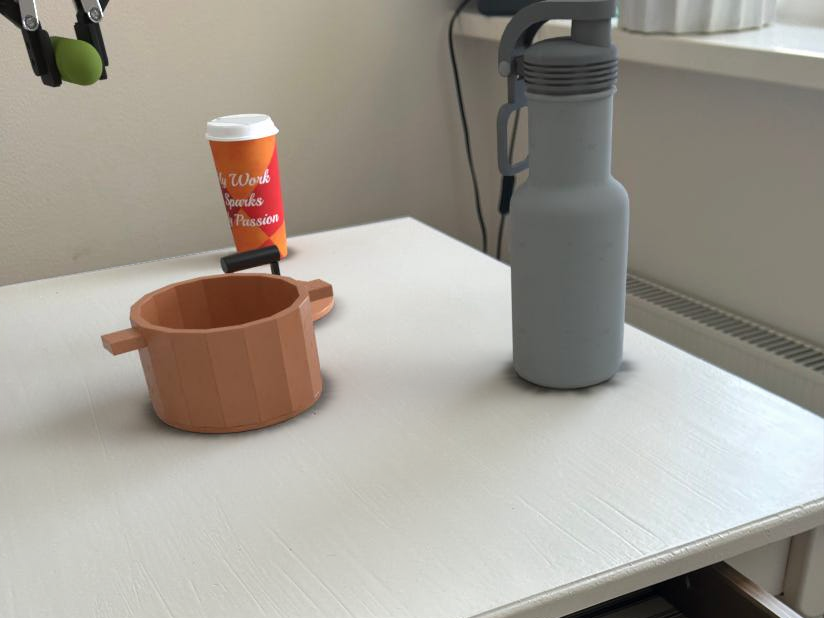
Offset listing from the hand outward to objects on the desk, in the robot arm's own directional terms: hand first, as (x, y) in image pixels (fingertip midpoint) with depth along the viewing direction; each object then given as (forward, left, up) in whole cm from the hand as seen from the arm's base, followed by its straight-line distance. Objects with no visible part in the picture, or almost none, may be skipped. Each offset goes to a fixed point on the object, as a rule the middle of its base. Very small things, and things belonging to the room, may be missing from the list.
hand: (74, 79), depth 82 cm
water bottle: (+27, -31, -24) cm, 48 cm away
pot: (+2, -16, -24) cm, 29 cm away
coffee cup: (+23, +21, -24) cm, 39 cm away
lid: (+13, +2, -23) cm, 27 cm away
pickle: (0, 0, 0) cm, 0 cm away
